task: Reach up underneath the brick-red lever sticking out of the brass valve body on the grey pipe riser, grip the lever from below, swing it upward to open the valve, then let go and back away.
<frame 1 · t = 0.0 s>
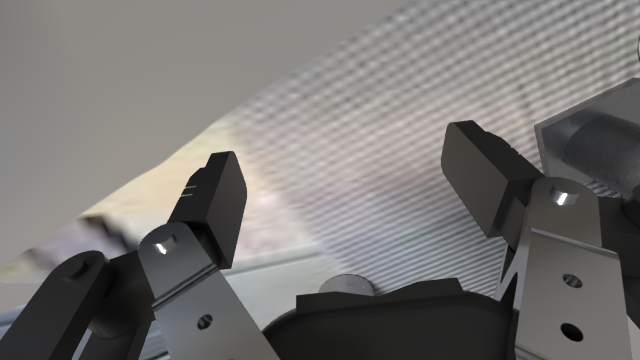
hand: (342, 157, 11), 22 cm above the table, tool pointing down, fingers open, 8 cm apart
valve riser: (586, 140, 36), on the table
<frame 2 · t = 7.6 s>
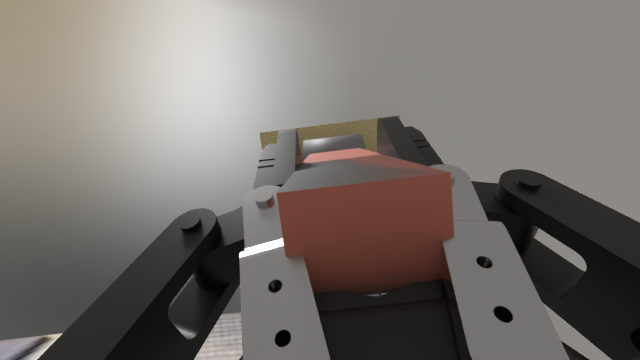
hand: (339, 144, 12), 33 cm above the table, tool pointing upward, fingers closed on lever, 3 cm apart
lever: (340, 177, 14), point 31 cm above the table, hinge at 0.0°, touching gripper
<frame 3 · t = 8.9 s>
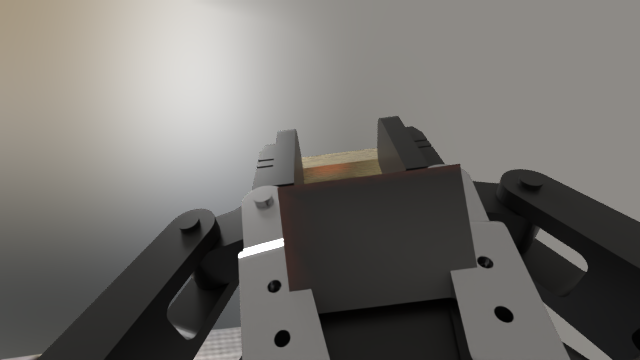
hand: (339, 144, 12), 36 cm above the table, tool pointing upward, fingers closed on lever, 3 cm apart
lever: (344, 215, 13), point 33 cm above the table, hinge at 13.7°, touching gripper
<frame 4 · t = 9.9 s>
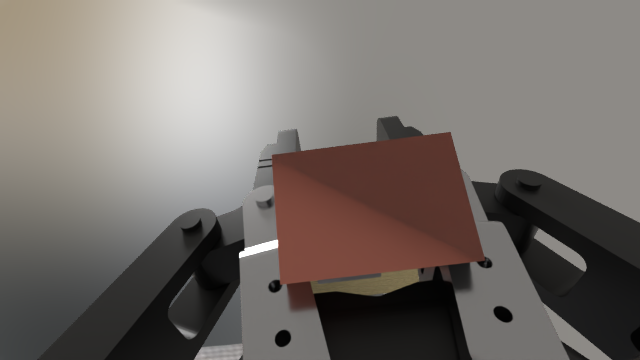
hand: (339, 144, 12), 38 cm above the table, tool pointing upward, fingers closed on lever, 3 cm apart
lever: (349, 242, 13), point 34 cm above the table, hinge at 25.2°, touching gripper
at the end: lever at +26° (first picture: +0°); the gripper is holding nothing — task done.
